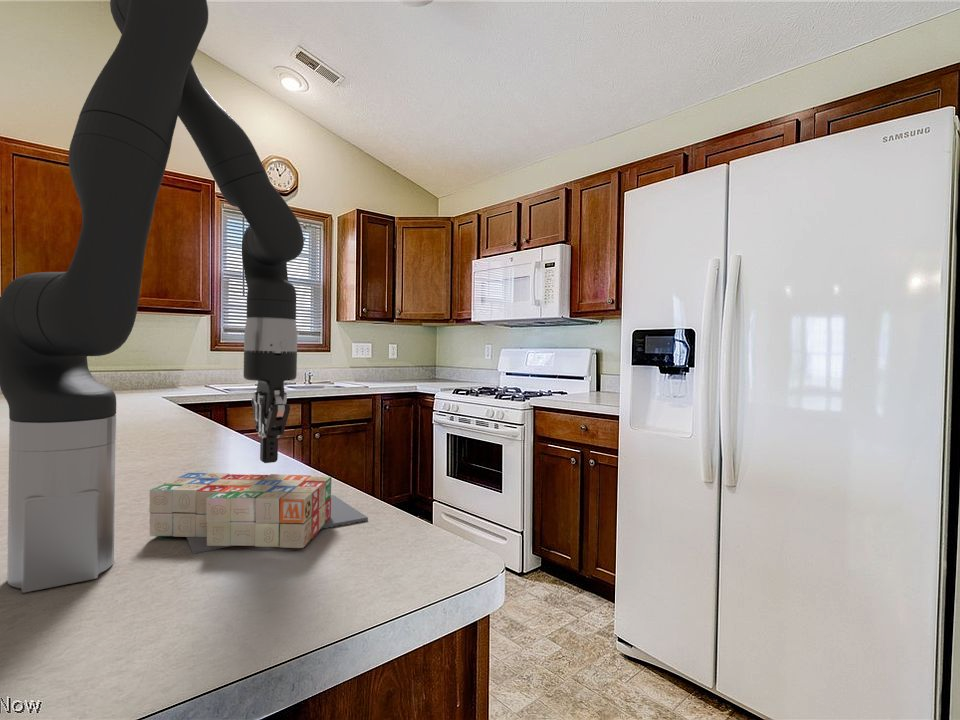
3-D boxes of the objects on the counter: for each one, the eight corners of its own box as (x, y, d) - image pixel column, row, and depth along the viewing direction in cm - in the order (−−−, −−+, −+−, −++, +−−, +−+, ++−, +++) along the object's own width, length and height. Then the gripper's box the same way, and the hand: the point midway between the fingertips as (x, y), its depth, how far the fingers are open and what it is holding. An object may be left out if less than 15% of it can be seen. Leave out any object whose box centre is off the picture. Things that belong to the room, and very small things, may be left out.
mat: (367, 520, 77) (367, 517, 77) (193, 553, 63) (193, 549, 63) (333, 497, 88) (333, 495, 88) (179, 521, 74) (179, 518, 74)
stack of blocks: (188, 513, 76) (132, 544, 64) (188, 471, 76) (132, 495, 64) (332, 517, 76) (303, 549, 64) (332, 475, 76) (304, 499, 64)
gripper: (235, 347, 81) (233, 456, 82) (255, 348, 71) (253, 473, 71) (283, 349, 86) (281, 452, 86) (309, 349, 75) (307, 467, 76)
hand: (268, 461), depth 79 cm, fingers closed
